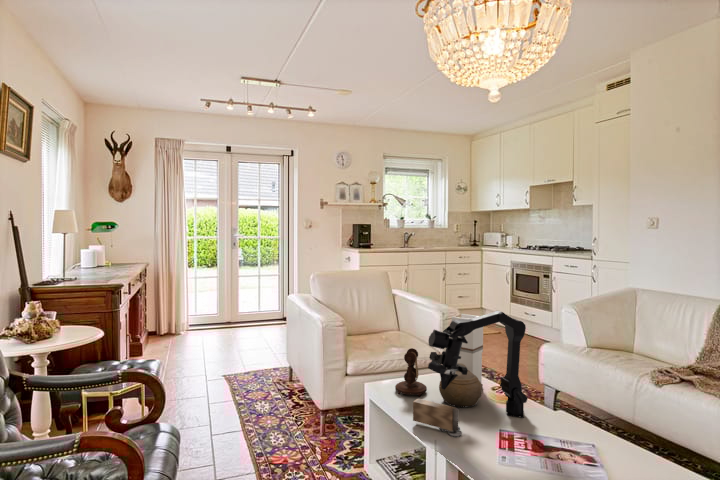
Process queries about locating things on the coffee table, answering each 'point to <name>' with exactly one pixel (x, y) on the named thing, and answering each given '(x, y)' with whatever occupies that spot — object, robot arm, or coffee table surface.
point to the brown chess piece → (411, 376)
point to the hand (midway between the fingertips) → (443, 389)
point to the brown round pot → (462, 390)
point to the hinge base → (455, 433)
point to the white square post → (472, 349)
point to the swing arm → (435, 414)
